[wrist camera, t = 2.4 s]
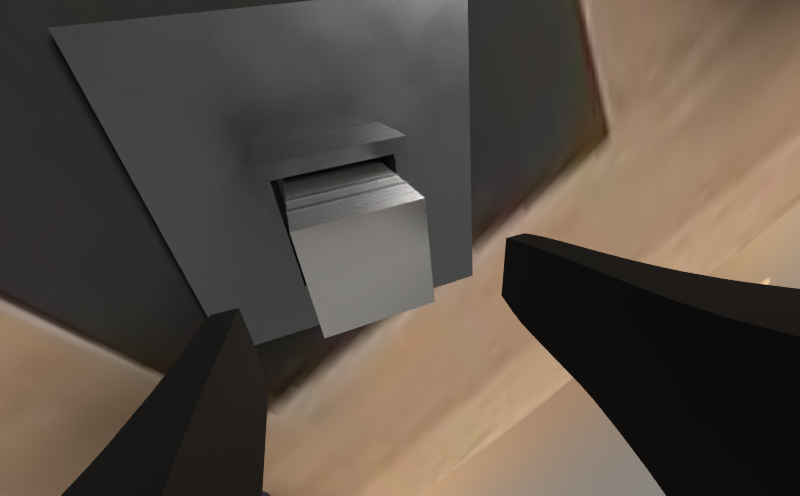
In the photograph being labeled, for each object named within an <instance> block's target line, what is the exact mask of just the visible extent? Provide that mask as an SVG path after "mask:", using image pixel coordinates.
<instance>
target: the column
mask: <svg viewBox="0 0 800 496" xmlns="http://www.w3.org/2000/svg"><path fill="white" fill-rule="evenodd" d="M283 184H284V192H285V199H284V201H285V205H286V208H287V210H286V214H287V217H288V224H289V231H290V235H291V238H292V241H293V244H294V247H295V250H296V253H297V256H298V259H299V262H300V265H301V268H302V272H303V275H304V278H305V281H306V284H307V287H308V290H309V293H310V296H311V299H312V302H313V305H314V308H315V311H316V314H317V317H318V320H319V323H320V326H321V329H322V332H323V335H324V338H327V337H330V336H333V335H336V334H339V333H342V332H345V331H348V330H351V329H354V328H357V327H360V326H363V325H366V324H369V323H372V322H375V321H378V320H381V319H384V318H387V317H390V316H393V315H396V314H399V313H402V312H405V311H408V310H411V309H414V308H417V307H420V306H423V305H426V304H429V303H432V302H435V300H434V289H433V278H432V267H431V257H430V246H429V235H428V224H427V213H426V203H425V198H424V197H423V196H422V195H421V194H419V193H418V192H417V191H416V190H415V189H413V188H412V187H411V186H410V185H409V183H408V182H407V181H404V180H402V179H401V178H400V177H399V175H398V174H397V173H396V174H395V173H394V172H393V171H392V170H390V169H389V168H388V167H387V166H386V165H384V164H383V163H382V162H381V161H379V160H378V159H377V158H373V159H368V160H364V161H359V162H354V163H350V164H345V165H341V166H336V167H331V168H327V169H322V170H318V171H313V172H308V173H304V174H299V175H295V176H290V177H286V178H283Z"/></svg>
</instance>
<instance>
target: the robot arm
mask: <svg viewBox="0 0 800 496" xmlns="http://www.w3.org/2000/svg"><path fill="white" fill-rule="evenodd" d="M502 297H503V298H504V300H505V301H506V303H507V304H508V305H509V307H510V308H511V310H512V311H513V312H514V314H515V315H516V316H517V318H518V319H519V320H520V322H521V323H522V324H523V325H524V326H525V327H526V328H527V330H528V331H529V332H530V333H531V334H532V335H533V336H534V337H535V338H536V339H537V340H538V341H539V342H540V343H541V344H542V345H543V346H544V347H545V348H546V350H547V351H548V352H549V353H550V354H551V355H552V356H553V357H554V358H555V359H556V360H557V361H558V362H559V363H560V364H561V365H562V366H563V367H564V368H565V369H566V370H567V371H568V372H569V373H570V374H571V375H572V376H573V377H574V379H575V380H576V381H577V382H578V383H579V384H580V385H581V386H582V387H583V388H584V389H585V390H586V391H587V393H588V394H589V395H590V396H591V397H592V398H593V399H594V401H595V402H596V403H597V404H598V406H599V407H600V408H601V409H602V411H603V412H604V413H605V414H606V416H607V417H608V418H609V419H610V421H611V422H612V423H613V424H614V426H615V427H616V428H617V429H618V431H619V432H620V433H621V435H622V436H623V437H624V439H625V440H626V441H627V443H628V444H629V445H630V447H631V448H632V449H633V451H634V452H635V453H636V455H637V456H638V457H639V458H640V460H641V461H642V463H643V464H644V465H645V467H646V468H647V469H648V471H649V472H650V473H651V475H652V476H653V478H654V479H655V480H656V482H657V483H658V485H659V486H660V487H661V489H662V490H663V492H664V493H665V495H666V496H800V289H796V288H787V287H779V286H772V285H764V284H755V283H748V282H740V281H734V280H728V279H721V278H716V277H710V276H705V275H699V274H693V273H688V272H682V271H677V270H673V269H668V268H663V267H659V266H654V265H650V264H646V263H642V262H637V261H633V260H629V259H625V258H621V257H617V256H613V255H609V254H606V253H602V252H598V251H594V250H591V249H587V248H583V247H580V246H576V245H572V244H569V243H565V242H561V241H558V240H554V239H550V238H546V237H541V236H537V235H531V234H525V233H524V234H520V235H517V236H513V237H509V238H506V248H505V261H504V273H503V285H502ZM266 418H267V401H266V385H265V372H264V367H263V364H262V362H261V359H260V357H259V355H258V352H257V350H256V347H255V345H254V343H253V340H252V338H251V335H250V333H249V331H248V328H247V326H246V323H245V321H244V319H243V316H242V314H241V311H240V309H239V308H236V309H232V310H228V311H224V312H220V313H216V314H213V315H210V317H209V318H208V319H207V320H206V322H205V323H204V324H203V326H202V327H201V328H200V330H199V331H198V332H197V334H196V335H195V336H194V338H193V339H192V340H191V342H190V343H189V344H188V346H187V347H186V348H185V350H184V351H183V352H182V354H181V355H180V356H179V358H178V359H177V360H176V362H175V363H174V364H173V366H172V367H171V368H170V369H169V371H168V372H167V373H166V375H165V376H164V377H163V379H162V380H161V381H160V382H159V384H158V385H157V386H156V388H155V389H154V390H153V391H152V393H151V394H150V395H149V396H148V397H147V399H146V400H145V401H144V402H143V403H142V405H141V406H140V407H139V408H138V409H137V411H136V412H135V413H134V414H133V415H132V416H131V418H130V419H129V420H128V421H127V422H126V424H125V425H124V426H123V427H122V428H121V430H120V431H119V432H118V433H117V434H116V436H115V437H114V438H113V439H112V440H111V442H110V443H109V444H108V445H107V446H106V447H105V448H104V450H103V451H102V452H101V453H100V454H99V455H98V456H97V457H96V459H95V460H94V461H93V462H92V463H91V464H90V465H89V466H88V467H87V468H86V469H85V471H84V472H83V473H82V474H81V475H80V476H79V477H78V478H77V479H76V480H75V481H74V482H73V483H72V485H71V486H70V487H69V488H68V489H67V490H66V491H65V492H64V493H63V494H62V495H61V496H262V487H263V470H264V454H265V436H266Z"/></svg>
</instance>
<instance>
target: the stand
mask: <svg viewBox="0 0 800 496" xmlns="http://www.w3.org/2000/svg"><path fill="white" fill-rule="evenodd" d="M49 30H50V32H51V34H52V36H53V38H54V39H55V41H56V43H57V45H58V47H59V48H60V50H61V52H62V54H63V56H64V57H65V59H66V61H67V63H68V65H69V67H70V68H71V70H72V72H73V74H74V76H75V77H76V79H77V81H78V83H79V85H80V86H81V88H82V90H83V92H84V94H85V95H86V97H87V99H88V101H89V103H90V105H91V106H92V108H93V110H94V112H95V114H96V115H97V117H98V119H99V121H100V123H101V124H102V126H103V128H104V130H105V132H106V134H107V135H108V137H109V139H110V141H111V143H112V144H113V146H114V148H115V150H116V152H117V153H118V155H119V157H120V159H121V161H122V163H123V164H124V166H125V168H126V170H127V172H128V173H129V175H130V177H131V179H132V181H133V182H134V184H135V186H136V188H137V190H138V192H139V193H140V195H141V197H142V199H143V201H144V202H145V204H146V206H147V208H148V210H149V211H150V213H151V215H152V217H153V219H154V221H155V222H156V224H157V226H158V228H159V230H160V231H161V233H162V235H163V237H164V239H165V240H166V242H167V244H168V246H169V248H170V250H171V251H172V253H173V255H174V257H175V259H176V260H177V262H178V264H179V266H180V268H181V269H182V271H183V273H184V275H185V277H186V279H187V280H188V282H189V284H190V286H191V288H192V289H193V291H194V293H195V295H196V297H197V298H198V300H199V302H200V304H201V306H202V308H203V309H204V311H205V313H206V315H207V317H208V318H209V317H210V315H213V314H216V313H220V312H224V311H228V310H232V309H236V308H239V309H240V311H241V314H242V316H243V319H244V321H245V323H246V326H247V328H248V331H249V333H250V335H251V338H252V340H253V343H254V345H258V344H261V343H264V342H267V341H270V340H273V339H277V338H280V337H283V336H286V335H289V334H292V333H295V332H298V331H301V330H304V329H308V328H311V327H314V326H317V325H320V323H319V320H318V317H317V314H316V311H315V308H314V305H313V302H312V299H311V296H310V293H309V290H308V287H307V284H306V281H305V278H304V275H303V272H302V268H301V265H300V262H299V259H298V256H297V253H296V250H295V247H294V244H293V241H292V238H291V235H290V231H289V224H288V217H287V214H286V210H287V208H286V205H285V201H284V199H285V192H284V184H283V178H286V177H290V176H295V175H299V174H304V173H308V172H313V171H318V170H322V169H327V168H331V167H336V166H341V165H345V164H350V163H354V162H359V161H364V160H368V159H373V158H377V159H378V160H379V161H381V162H382V163H383V164H384V165H386V166H387V167H388V168H389V169H390V170H392V171H393V172H394V173H395V174H396V173H397V174H398V175H399V177H400V178H401V179H402V180H404V181H407V182H408V183H409V185H410V186H411V187H412V188H413V189H415V190H416V191H417V192H418V193H419V194H421V195H422V196H423V197H424V198H425V203H426V213H427V224H428V235H429V246H430V257H431V267H432V278H433V288H435V287H438V286H441V285H444V284H447V283H450V282H453V281H456V280H460V279H463V278H466V277H469V276H472V219H471V163H470V106H469V49H468V0H314V1H304V2H294V3H284V4H275V5H265V6H255V7H245V8H236V9H226V10H216V11H207V12H197V13H187V14H177V15H168V16H158V17H148V18H139V19H129V20H119V21H109V22H100V23H90V24H80V25H71V26H61V27H51V28H49Z"/></svg>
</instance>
